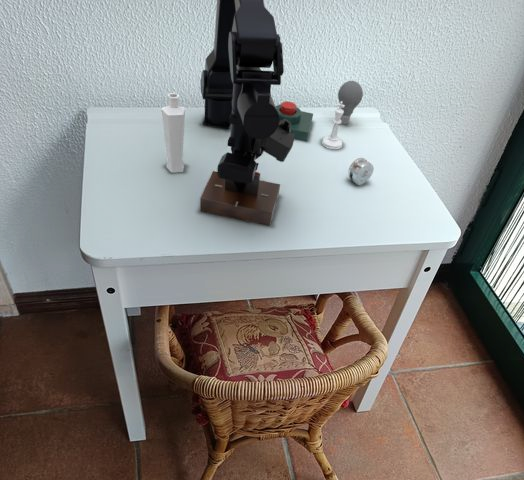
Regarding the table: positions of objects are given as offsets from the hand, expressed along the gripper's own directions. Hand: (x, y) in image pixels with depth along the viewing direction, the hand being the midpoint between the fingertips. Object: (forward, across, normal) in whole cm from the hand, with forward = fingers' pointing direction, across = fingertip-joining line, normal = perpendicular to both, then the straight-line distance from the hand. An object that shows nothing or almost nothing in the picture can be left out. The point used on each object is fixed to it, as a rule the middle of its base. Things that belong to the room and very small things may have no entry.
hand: (241, 188), depth 95 cm
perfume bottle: (+4, +8, +16) cm, 18 cm away
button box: (+4, +35, -4) cm, 35 cm away
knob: (0, 0, 0) cm, 0 cm away
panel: (+4, 0, 0) cm, 4 cm away
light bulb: (+4, +43, -18) cm, 47 cm away
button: (0, +35, -4) cm, 35 cm away
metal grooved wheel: (+4, +17, -23) cm, 29 cm away
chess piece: (+4, +31, -16) cm, 35 cm away
